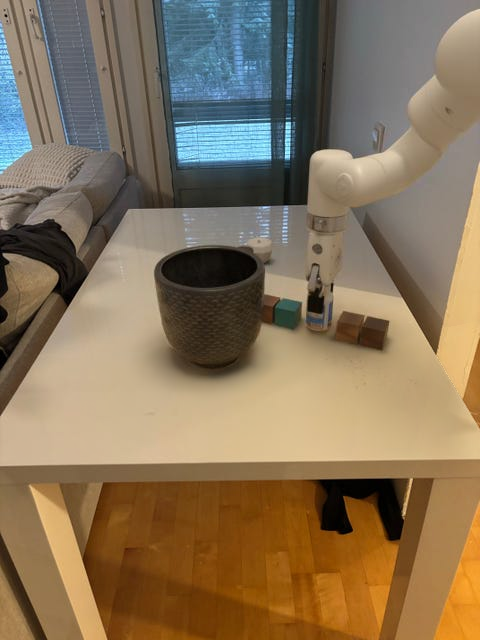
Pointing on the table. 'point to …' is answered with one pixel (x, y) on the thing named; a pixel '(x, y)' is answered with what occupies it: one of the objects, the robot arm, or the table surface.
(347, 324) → the block
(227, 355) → the planter
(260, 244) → the white pillar candle
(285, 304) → the block
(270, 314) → the block
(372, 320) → the block
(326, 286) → the pill bottle
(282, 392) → the table surface
